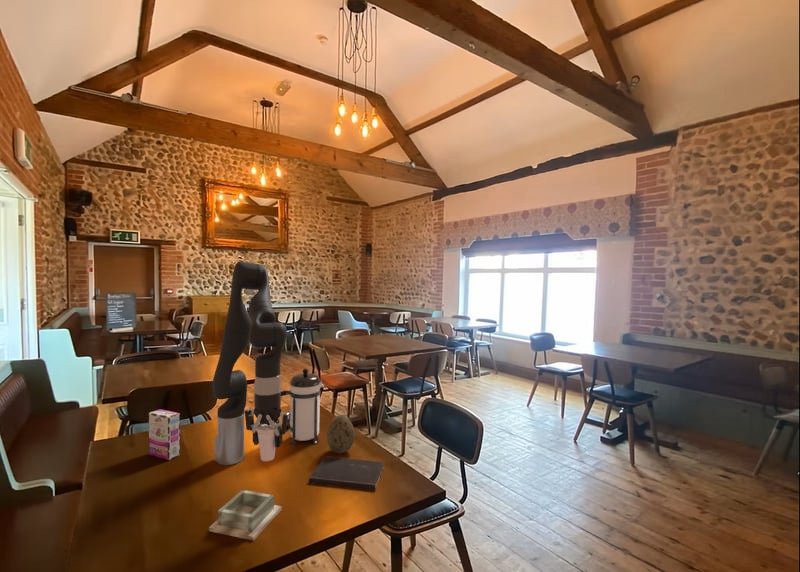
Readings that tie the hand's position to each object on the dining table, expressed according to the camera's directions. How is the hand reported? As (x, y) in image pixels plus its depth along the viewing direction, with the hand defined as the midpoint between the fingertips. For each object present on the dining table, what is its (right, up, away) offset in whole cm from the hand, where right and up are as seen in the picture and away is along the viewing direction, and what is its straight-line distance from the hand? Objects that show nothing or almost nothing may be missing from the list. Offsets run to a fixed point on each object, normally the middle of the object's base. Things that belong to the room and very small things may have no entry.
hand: (267, 445), depth 118 cm
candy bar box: (-50, -17, +33) cm, 62 cm away
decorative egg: (+16, -18, +38) cm, 45 cm away
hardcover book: (+21, -20, +22) cm, 36 cm away
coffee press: (-2, -18, +49) cm, 52 cm away
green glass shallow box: (-5, -20, -4) cm, 21 cm away
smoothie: (0, -4, 0) cm, 4 cm away
